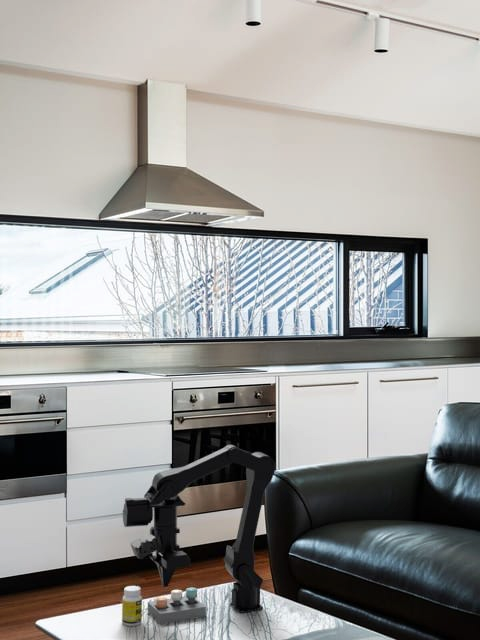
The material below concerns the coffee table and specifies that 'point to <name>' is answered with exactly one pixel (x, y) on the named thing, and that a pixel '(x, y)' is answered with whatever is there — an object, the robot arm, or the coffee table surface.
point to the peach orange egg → (161, 602)
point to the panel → (177, 611)
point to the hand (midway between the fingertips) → (165, 586)
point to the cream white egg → (176, 597)
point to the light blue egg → (191, 595)
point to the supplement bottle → (132, 606)
